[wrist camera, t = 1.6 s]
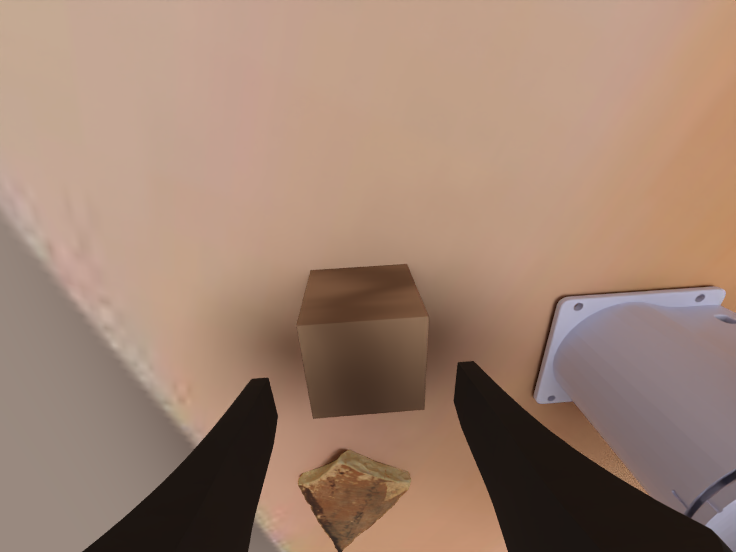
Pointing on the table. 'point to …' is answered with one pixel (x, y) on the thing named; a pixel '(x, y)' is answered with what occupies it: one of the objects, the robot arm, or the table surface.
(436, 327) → the table surface
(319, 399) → the walnut cube
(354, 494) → the shard
